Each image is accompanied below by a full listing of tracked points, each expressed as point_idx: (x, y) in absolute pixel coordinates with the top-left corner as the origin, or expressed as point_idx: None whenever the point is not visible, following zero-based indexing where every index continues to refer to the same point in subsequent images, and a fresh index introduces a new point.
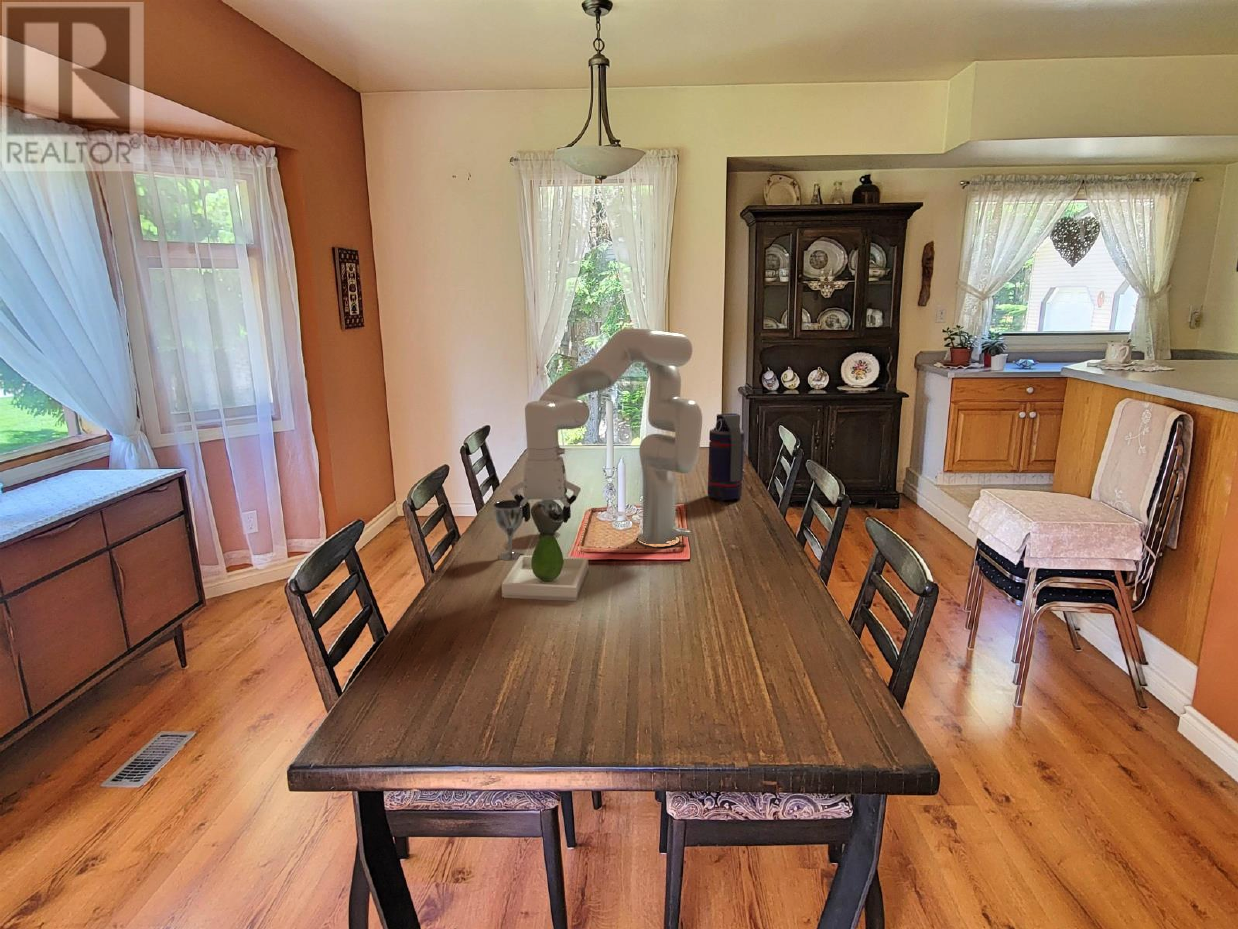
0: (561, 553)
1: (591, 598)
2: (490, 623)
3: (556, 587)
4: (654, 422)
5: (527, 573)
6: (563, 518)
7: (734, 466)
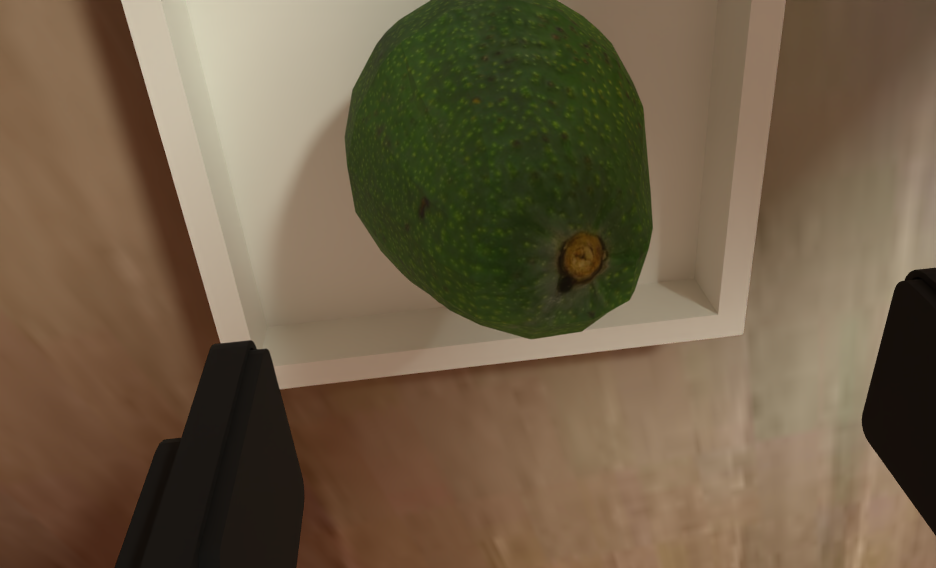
0: (645, 148)
1: (798, 229)
2: (330, 556)
3: (612, 345)
4: None
5: (261, 4)
6: (894, 473)
7: None
